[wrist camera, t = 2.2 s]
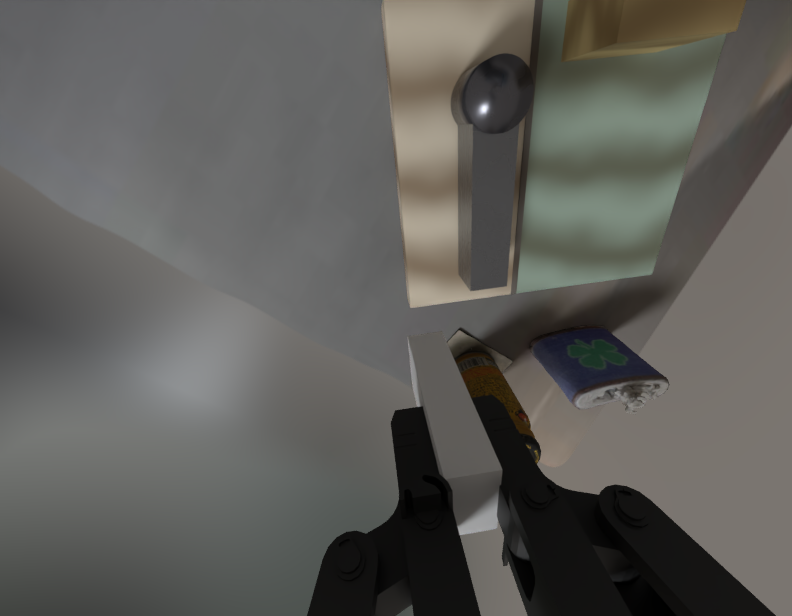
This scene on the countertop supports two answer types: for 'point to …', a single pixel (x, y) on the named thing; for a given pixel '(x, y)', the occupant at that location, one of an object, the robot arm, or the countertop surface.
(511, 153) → the latch bar
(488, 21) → the two-tone base plate
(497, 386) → the condiment
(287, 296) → the countertop surface
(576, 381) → the flask
